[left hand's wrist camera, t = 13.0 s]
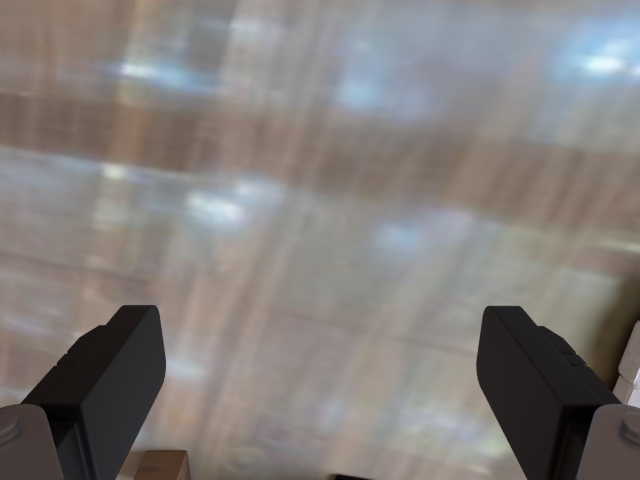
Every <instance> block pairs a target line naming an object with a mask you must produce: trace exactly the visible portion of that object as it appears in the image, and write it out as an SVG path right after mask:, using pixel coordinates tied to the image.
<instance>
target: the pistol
mask: <svg viewBox="0 0 640 480" xmlns="http://www.w3.org/2000/svg"><path fill="white" fill-rule="evenodd" d="M619 373H620V374H621V375H620V376H619V378H618V381H617V383H616V386H615V388H614V390H613V394H614V395H615V396H616V397H617V398H618V399H619V400H620V401H621V402H622V404H624V405H630V406H635V407H638V408H640V321H639V320H638V321H637V323H636V324H635V326H634V329H633V331H632V334H631V337H630V339H629V342H628V344H627V347H626V349H625V352H624V354H623V357H622V359H621V362H620V365H619Z"/></svg>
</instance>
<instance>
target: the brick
mask: <svg viewBox="0 0 640 480" xmlns="http://www.w3.org/2000/svg"><path fill="white" fill-rule="evenodd" d="M134 480H191V478H190V471H189V463H188V456H187V451H146V453H145V456H144V458H143V460H142V462H141V464H140V467H139V469H138V471H137V473H136V475H135V477H134Z"/></svg>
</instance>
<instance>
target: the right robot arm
mask: <svg viewBox="0 0 640 480" xmlns="http://www.w3.org/2000/svg"><path fill="white" fill-rule="evenodd" d="M335 480H362V479H356V478H351V477H345V476H336V477H335Z"/></svg>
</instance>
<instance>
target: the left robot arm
mask: <svg viewBox="0 0 640 480" xmlns="http://www.w3.org/2000/svg"><path fill="white" fill-rule="evenodd" d="M476 369H477V377H478V381H479V384H480V387H481V389H482V391H483V393H484V395H485V397H486V399H487V401H488V403H489V405H490V407H491V409H492V411H493V413H494V415H495V417H496V419H497V421H498V423H499V425H500V427H501V428H502V430H503V432H504V434H505V436H506V438H507V440H508V442H509V444H510V446H511V448H512V450H513V452H514V454H515V456H516V458H517V460H518V462H519V464H520V466H521V468H522V470H523V472H524V474H525V476H526V478H527V480H640V408H638V407H635V406H630V405H624V404H622V402H621V401H620V400H619V399H618V398H617V397H616V396H615V395H614V394H613V393H612V391H611V390H610V389H609V388H608V387H607V386H606V385H605V384H604V383H603V382H602V380H601V379H600V378H599V377H598V376H597V375H596V374H595V373H594V372H593V371H592V369H591V368H590V367H587V366H586V363H585V362H584V361H583V360H582V358H581V357H580V356H579V355H576V352H575V351H574V350H573V349H572V347H571V346H570V345H569V344H568V343H567V342H566V341H565V340H564V339H563V338H562V337H560V336H559V335H557V334H555V333H554V332H552V331H551V330H549V329H547V328H546V327H544V326H537V325H536V324H535V323H534V321H533V320H532V319H531V318H530V317H529V316H528V314H527V313H526V312H525V311H524V310H523V309H522V308H521V307H520V306H487V307H486V308H485V310H484V313H483V318H482V325H481V333H480V340H479V347H478V354H477V362H476ZM165 372H166V358H165V350H164V343H163V336H162V329H161V322H160V315H159V311H158V308H157V307H156V306H155V305H123V306H122V307H121V308H120V309H119V310H118V311H117V312H116V313H115V315H114V316H113V317H112V318H111V319H110V321H109V322H108V323H107V324H106V325H99V326H97V327H96V328H94V329H93V330H91V331H89V332H88V333H86V334H84V335H83V336H81V337H80V338H79V339H78V340H77V341H76V342H75V343H74V344H73V346H72V347H71V348H70V349H69V350H68V353H67V354H64V356H63V357H62V358H61V359H60V360H59V361H58V362H57V366H54V367H53V368H52V369H51V370H50V371H49V372H48V373H47V374H46V376H45V377H44V378H43V379H42V380H41V381H40V382H39V383H38V384H37V386H36V387H35V388H34V389H33V390H32V391H31V392H30V393H29V394H28V396H27V397H26V398H25V399H24V400H23V401H22V402H21V403H20V404H16V405H10V406H5V407H2V408H0V480H115V479H116V477H117V475H118V473H119V471H120V469H121V467H122V465H123V463H124V461H125V459H126V457H127V455H128V453H129V451H130V449H131V447H132V445H133V443H134V441H135V439H136V437H137V435H138V433H139V431H140V429H141V427H142V425H143V423H144V421H145V419H146V417H147V415H148V413H149V411H150V409H151V407H152V405H153V403H154V401H155V399H156V397H157V395H158V393H159V391H160V389H161V387H162V385H163V382H164V378H165Z"/></svg>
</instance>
